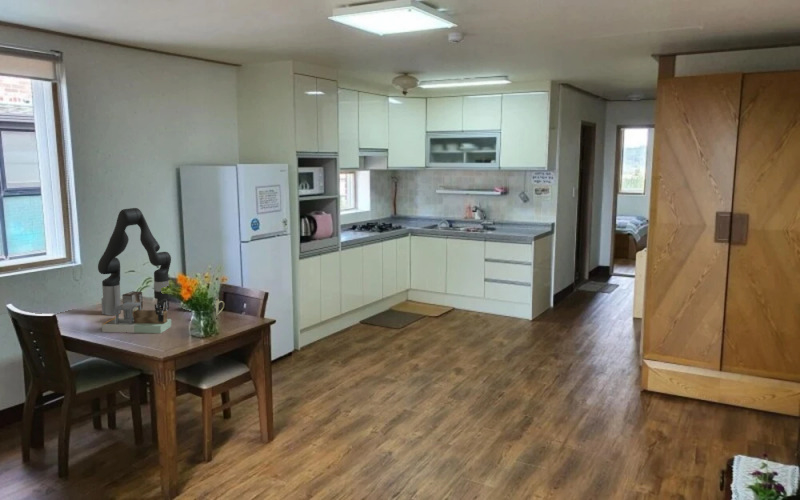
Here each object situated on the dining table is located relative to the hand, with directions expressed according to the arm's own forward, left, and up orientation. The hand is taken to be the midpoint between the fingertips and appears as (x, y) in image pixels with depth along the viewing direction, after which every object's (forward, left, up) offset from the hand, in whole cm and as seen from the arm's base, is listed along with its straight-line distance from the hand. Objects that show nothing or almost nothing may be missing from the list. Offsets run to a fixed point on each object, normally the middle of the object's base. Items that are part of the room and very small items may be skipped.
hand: (162, 320), depth 312 cm
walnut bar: (-7, 0, -1) cm, 7 cm away
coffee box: (-23, +16, -6) cm, 29 cm away
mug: (+20, +22, -6) cm, 30 cm away
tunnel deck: (-14, 0, -5) cm, 15 cm away
